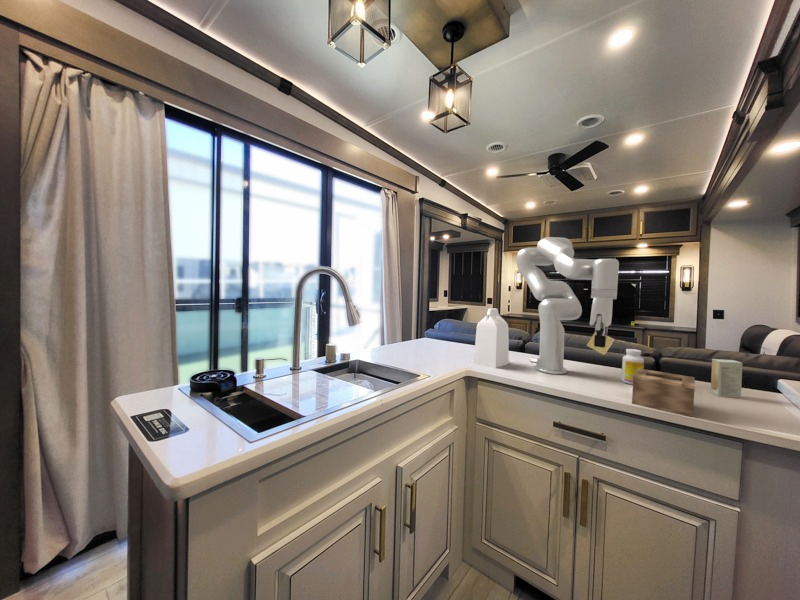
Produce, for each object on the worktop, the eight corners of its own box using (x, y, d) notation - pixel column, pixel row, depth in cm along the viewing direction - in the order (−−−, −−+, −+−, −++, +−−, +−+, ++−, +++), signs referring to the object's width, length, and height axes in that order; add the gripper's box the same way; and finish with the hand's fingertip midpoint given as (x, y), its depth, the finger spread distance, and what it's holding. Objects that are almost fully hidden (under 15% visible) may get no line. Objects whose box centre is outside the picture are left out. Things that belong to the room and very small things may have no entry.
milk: (487, 359, 153) (488, 307, 151) (508, 363, 144) (510, 309, 143) (473, 363, 145) (475, 308, 143) (495, 368, 136) (497, 310, 135)
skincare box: (732, 394, 106) (734, 359, 106) (741, 398, 102) (744, 362, 102) (709, 392, 109) (711, 358, 108) (717, 396, 104) (719, 361, 104)
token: (586, 345, 110) (595, 331, 108) (588, 344, 111) (597, 330, 109) (603, 355, 106) (613, 340, 104) (605, 353, 108) (614, 339, 106)
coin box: (631, 403, 97) (633, 375, 96) (636, 393, 106) (638, 368, 105) (692, 417, 87) (694, 386, 87) (692, 405, 96) (694, 377, 95)
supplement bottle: (646, 386, 114) (648, 352, 113) (626, 385, 115) (628, 351, 114) (636, 380, 120) (638, 348, 120) (617, 379, 122) (619, 347, 121)
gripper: (596, 293, 115) (593, 341, 116) (585, 294, 103) (582, 347, 105) (620, 294, 110) (617, 344, 111) (612, 295, 98) (608, 351, 99)
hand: (600, 345), depth 108 cm, fingers closed on token, 2 cm apart
